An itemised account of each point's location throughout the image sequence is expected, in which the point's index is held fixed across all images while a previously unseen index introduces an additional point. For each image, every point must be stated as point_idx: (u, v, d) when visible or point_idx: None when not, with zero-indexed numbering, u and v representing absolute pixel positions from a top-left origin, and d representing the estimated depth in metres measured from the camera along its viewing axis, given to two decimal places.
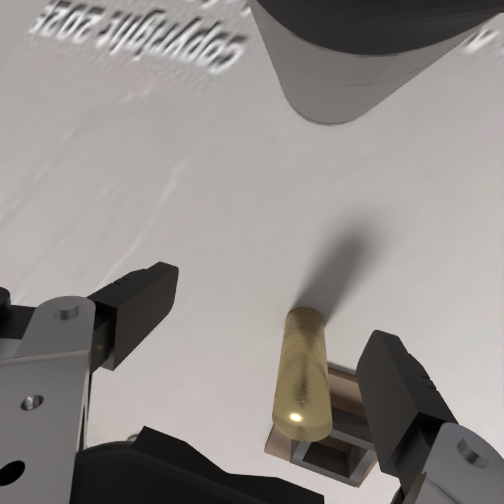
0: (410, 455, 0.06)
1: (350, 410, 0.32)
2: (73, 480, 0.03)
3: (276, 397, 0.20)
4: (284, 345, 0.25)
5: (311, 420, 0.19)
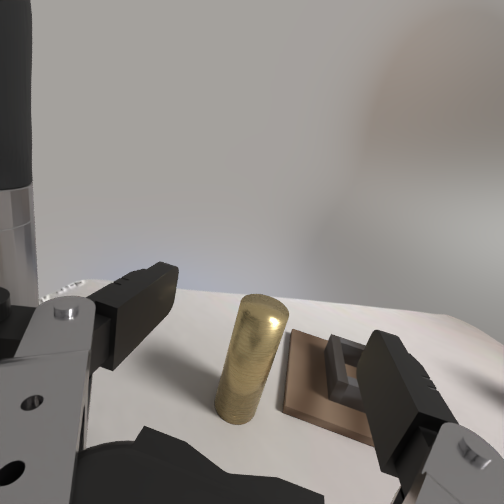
0: (410, 455, 0.06)
1: (323, 367, 0.34)
2: (72, 480, 0.03)
3: (253, 327, 0.21)
4: (235, 377, 0.23)
5: (261, 302, 0.23)
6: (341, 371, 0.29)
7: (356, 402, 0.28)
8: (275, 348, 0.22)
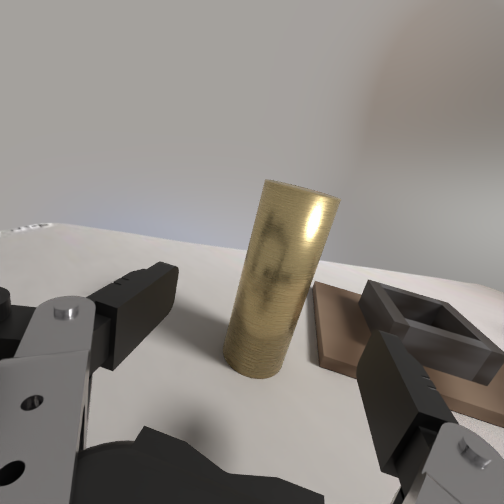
0: (410, 455, 0.06)
1: (362, 318, 0.26)
2: (73, 480, 0.03)
3: (289, 207, 0.13)
4: (257, 300, 0.15)
5: (295, 186, 0.15)
6: (394, 313, 0.21)
7: (419, 353, 0.20)
8: (319, 251, 0.14)
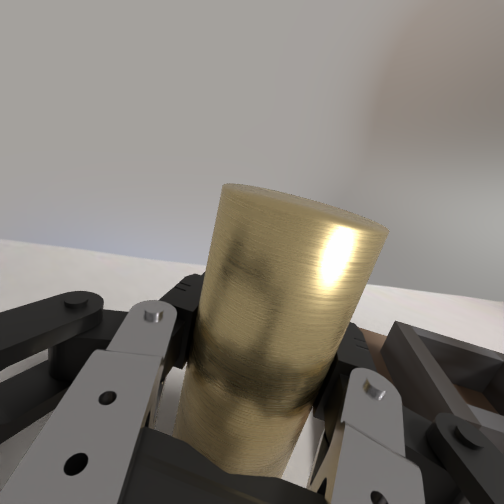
0: (332, 398, 0.07)
1: (389, 381, 0.18)
2: (122, 491, 0.03)
3: (270, 253, 0.05)
4: (208, 435, 0.07)
5: (288, 198, 0.08)
6: (449, 394, 0.13)
7: None
8: (340, 339, 0.07)
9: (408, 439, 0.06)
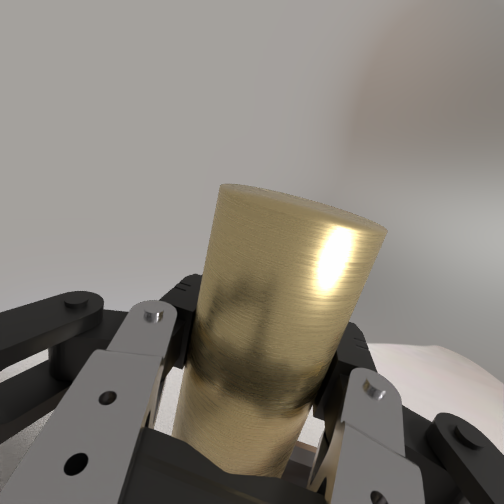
0: (332, 398, 0.07)
1: None
2: (123, 491, 0.03)
3: (267, 253, 0.05)
4: (206, 437, 0.07)
5: (286, 198, 0.08)
6: None
7: None
8: (339, 339, 0.07)
9: (408, 439, 0.06)
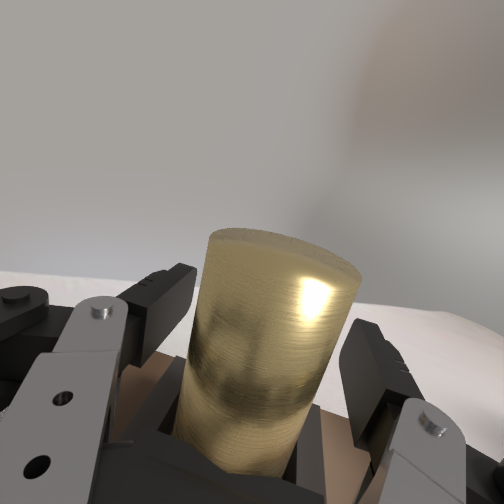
0: (379, 429, 0.07)
1: None
2: (92, 482, 0.03)
3: (250, 308, 0.06)
4: None
5: (271, 242, 0.08)
6: None
7: None
8: (320, 378, 0.07)
9: (476, 484, 0.05)
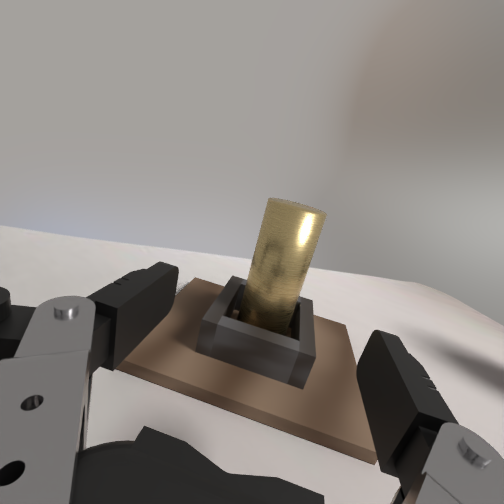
0: (410, 455, 0.06)
1: None
2: (72, 480, 0.03)
3: (286, 221, 0.17)
4: (262, 292, 0.19)
5: (291, 203, 0.19)
6: (215, 310, 0.20)
7: (232, 353, 0.19)
8: (310, 254, 0.19)
9: None
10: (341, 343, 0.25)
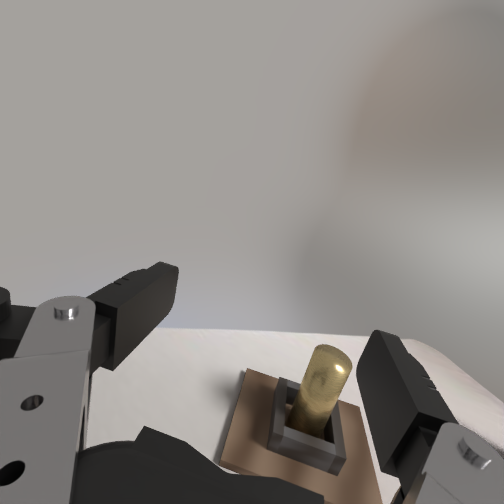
0: (410, 455, 0.06)
1: (269, 411, 0.35)
2: (73, 480, 0.03)
3: (328, 376, 0.28)
4: (310, 412, 0.30)
5: (328, 352, 0.30)
6: (279, 421, 0.30)
7: (292, 452, 0.29)
8: None
9: None
10: (357, 427, 0.36)
